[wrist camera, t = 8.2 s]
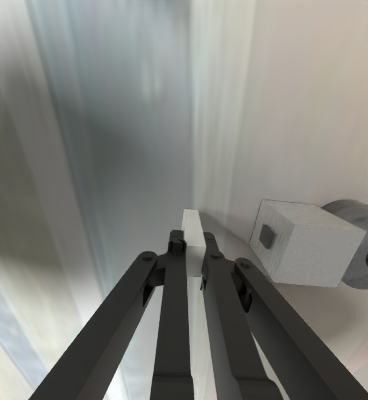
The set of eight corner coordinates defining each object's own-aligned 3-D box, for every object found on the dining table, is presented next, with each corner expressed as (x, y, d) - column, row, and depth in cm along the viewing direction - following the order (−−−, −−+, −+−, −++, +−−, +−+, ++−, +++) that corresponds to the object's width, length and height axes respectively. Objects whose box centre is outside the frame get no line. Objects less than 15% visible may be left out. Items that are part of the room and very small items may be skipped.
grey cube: (247, 244, 21) (270, 282, 16) (259, 199, 19) (291, 224, 14) (296, 248, 21) (336, 287, 16) (313, 204, 19) (366, 231, 14)
